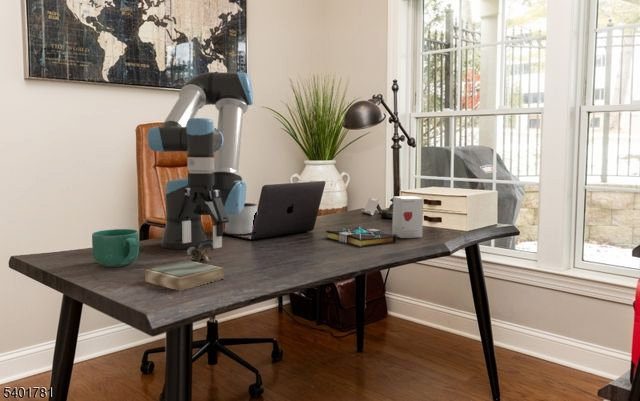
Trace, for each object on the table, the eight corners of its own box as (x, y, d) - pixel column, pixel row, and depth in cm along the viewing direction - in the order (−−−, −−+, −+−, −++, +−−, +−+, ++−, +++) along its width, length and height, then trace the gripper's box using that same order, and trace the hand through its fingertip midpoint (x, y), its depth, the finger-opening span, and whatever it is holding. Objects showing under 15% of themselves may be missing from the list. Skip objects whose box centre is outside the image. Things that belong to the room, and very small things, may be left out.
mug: (86, 264, 155) (84, 231, 154) (127, 257, 164) (126, 227, 163) (110, 274, 144) (108, 239, 142) (153, 267, 152) (152, 234, 151)
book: (397, 243, 191) (398, 230, 191) (360, 249, 182) (361, 234, 181) (359, 235, 209) (360, 222, 208) (324, 239, 200) (324, 226, 199)
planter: (221, 231, 212) (220, 203, 211) (251, 229, 218) (250, 202, 217) (230, 236, 201) (230, 207, 200) (262, 234, 207) (262, 205, 206)
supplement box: (400, 238, 199) (401, 198, 198) (391, 234, 208) (392, 196, 206) (423, 237, 201) (424, 198, 200) (413, 233, 210) (414, 195, 208)
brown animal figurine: (215, 261, 155) (223, 249, 163) (200, 241, 153) (209, 230, 162) (194, 274, 156) (203, 261, 165) (180, 254, 155) (189, 243, 164)
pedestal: (144, 281, 136) (144, 269, 136) (189, 271, 147) (188, 259, 147) (179, 291, 128) (179, 277, 128) (223, 279, 139) (223, 267, 139)
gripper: (163, 171, 159) (164, 242, 161) (220, 173, 144) (221, 251, 146) (183, 170, 165) (184, 239, 167) (240, 173, 150) (241, 248, 152)
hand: (201, 245), depth 156 cm, fingers open, 13 cm apart
